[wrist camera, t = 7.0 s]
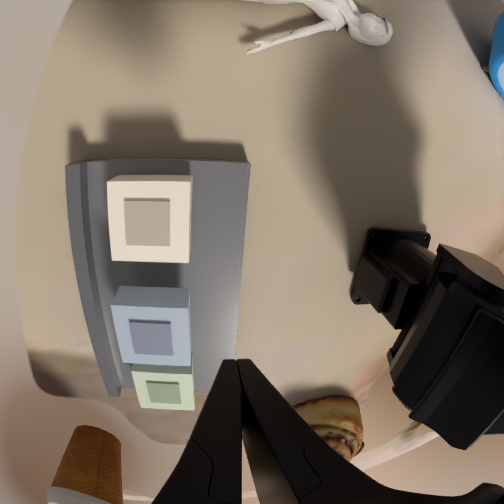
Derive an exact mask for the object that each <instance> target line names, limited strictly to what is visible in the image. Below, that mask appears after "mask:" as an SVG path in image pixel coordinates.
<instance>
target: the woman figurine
mask: <svg viewBox="0 0 504 504" xmlns="http://www.w3.org/2000/svg"><path fill="white" fill-rule="evenodd" d="M243 1H253V2H261V3H269V4H288V3H295V2H298V3H304V4H305V5H307V6H308V7H309V8H311V9H312V10H313V11H314V12H315V13H316V14H317V15H318V16H319V17H320V18H321V19H323V20H324V21H322V22H320V23H317V24H314V25H310V26H306V27H303V28H300V29H297V30H295V31H293V32H291V33H290V34H287V35H285V36H282V37H279V38H276V39H274V40H271V41H268V40H261V41H255V42H254V43H260V45H259V46H258V48H256V49H253V50H250V49H248V50H249V51H248V52H247V53H246V54H250V53H255V52H257V51H260V50H263V49H265V48H268V47H271V46H274V45H277V44H280V43H283V42H286V41H289V40H292V39H297V38H301V37H305V36H308V35H311V34H314V33H318V32H321V31H328V30H331V31H332V32H336V31H338V30H339V29H340V28H341V27H343V26H344V25H345V24H346V23H347V24H348V31H349V34H350V35H351V37H352V38H353V39H355V40H356V41H358V42H361V43H363V44H367V45H374V46H380V45H383V44H386V43H387V42H388V41H389V40H390V38H391V37H392V33H393V28H392V25H391V23H390V22H389V21H388V20H387V19H386V18H382V17H377V16H376V15H375V14H372V13H366V14H361V13H360V12H359V9H358V8H357V6H356V4H355V3H354V2H353V0H243Z"/></svg>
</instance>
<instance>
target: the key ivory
mask: <svg viewBox="0 0 504 504" xmlns="http://www.w3.org/2000/svg"><path fill="white" fill-rule="evenodd" d="M192 185H193V175H118V176H116V177H114V178H112V179H111V180H109V181H107V202H108V221H109V235H110V246H111V256H112V261H138V262H171V263H189V258H190V250H191V213H192Z"/></svg>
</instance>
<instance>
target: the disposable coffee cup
mask: <svg viewBox="0 0 504 504" xmlns="http://www.w3.org/2000/svg"><path fill="white" fill-rule="evenodd" d="M46 495H47V499H48V504H123V495H122V478H121V443H120V441H119V440H118V439H117V438H116V437H115V436H114V435H112V434H110V433H109V432H107V431H104V430H102V429H100V428H97V427H93V426H86V425H84V426H78V427H76V429H75V430H74V433H73V435H72V437H71V439H70V442H69V444H68V446H67V449H66V451H65V453H64V455H63V458H62V460H61V463H60V465H59V468H58V470H57V473H56V475H55V478H54V480H53V483H52V485H51V487H49V490H47V491H46Z"/></svg>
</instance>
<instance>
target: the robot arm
mask: <svg viewBox="0 0 504 504" xmlns="http://www.w3.org/2000/svg"><path fill="white" fill-rule="evenodd" d="M374 232H375V235H374V236H373V237H372V234H373V233H374ZM425 237H426V238H425ZM424 239H425V240H424ZM430 239H431V236H430V234H429V233H427V232H424V231H413V230H402V229H390V228H378V227H372V228H370V229H369V230H368V232H367V235H366V240H365V244H364V249H363V253H362V255H361V257H360V261H359V266H358V270H357V274H356V278H355V281H354V289H353V293H352V296H351V300H352V302H353V303H354V304H356V305H359V304H371V305H372V306H373V307H374V309H375V310H376V311H377V312H378V313H382V315H383V316H384V317H385V318H386V319H387V321H388V322H389V323H390V324H391V325H392V327H393V328H394V329H396V330H397V329H401V332H400V334H399V336H398V338H397V339H396V341H395V343H394V345H393V347H392V348H390V349H389V351H388V353H387V358H388V362H389V366H390V375H391V378H392V380H393V383H394V386H393V387H392V390H393V392H394V394H395V395H396V397H397V398H398V399H399V401H401V403H402V404H403V405H404V406H405V407H406V408H407V409H409V410H410V411H411V412H410V414H409V418H410V419H412V420H415V421H418V422H420V423H423V424H424V425H426V426H428V427H429V428H431V429H433V430H434V431H435V432H436V433H438V434H439V435H440V436H441V437H442V438H443V439H444V440H445V441H446V442H447V443H448V444H449V445H451V446H452V447H454V448H458V449H462V450H468V449H469V448H470V447H471V446H472V445H473V444H474V443H475V442H476V441H477V440H478V439H479V438H480V437H481V436H482V435H495V434H504V275H503V273H502V272H501V271H500V270H499V268H498V267H496V266H494V265H493V264H491V263H489V262H488V261H486V260H484V259H483V258H481V257H479V256H477V255H475V254H472V253H469V252H466V251H463V250H460V249H457V248H453V247H450V246H447V245H443V244H440V243H439V246H438V248H437V255H435V254H434V253H432V252H431V251H429V250H428V247H429V243H430ZM357 297H359V298H358V299H356V298H357ZM242 439H243V443H244V447H245V451H246V454H247V458H248V462H249V466H250V470H251V473H252V477H253V481H254V484H255V488H256V492H257V495H258V498H259V502H260V504H504V488H503V487H501V486H499V485H496V484H490V483H482V484H481V485H479V486H478V487H476V488H475V489H474V490H472V491H471V492H469V493H467V494H465V495H461V496H454V497H450V496H437V495H428V494H420V493H413V492H406V491H401V490H395V489H392V488H389V487H386V486H384V485H382V484H380V483H378V482H376V481H375V480H373V479H372V478H371V477H369V476H368V475H366V474H365V473H364V472H362V471H361V470H360V469H358V468H357V467H355V466H354V465H353V464H351V463H350V462H349V461H347V460H346V459H345V458H344V457H342V456H341V455H340V454H339V453H337V452H336V451H335V450H334V449H333V448H332V447H330V446H329V445H328V444H327V443H326V442H325V441H324V440H323V439H322V438H321V437H320V436H319V435H318V434H317V433H316V432H315V431H314V430H312V428H311V427H310V425H309V424H308V423H307V422H306V421H305V420H304V419H303V418H302V417H301V416H300V415H299V414H298V413H297V412H296V410H295V409H294V408H293V407H292V406H291V405H290V404H289V403H288V402H287V401H286V400H285V398H284V397H283V396H282V395H281V394H280V393H279V392H278V391H277V389H276V388H275V387H274V386H273V385H272V384H271V383H270V382H269V380H268V379H267V378H266V377H265V376H264V375H263V373H262V372H261V371H260V370H259V369H258V368H257V366H256V365H255V364H254V363H253V362H252V361H251V360H250V359H237V361H236V360H235V359H224V360H222V363H221V365H220V367H219V370H218V372H217V375H216V377H215V379H214V382H213V384H212V386H211V389H210V391H209V394H208V396H207V398H206V401H205V403H204V405H203V408H202V410H201V412H200V415H199V417H198V420H197V422H196V424H195V427H194V429H193V431H192V434H191V436H190V439H189V440H188V442H187V445H186V447H185V449H184V451H183V454H182V455H181V458H180V460H179V462H178V464H177V465H176V467H175V469H174V470H173V472H172V473H171V475H170V477H169V478H168V480H167V481H166V483H165V484H164V486H163V487H162V489H161V490H160V492H159V493H158V495H157V496H156V498H155V499H154V500H153V502H152V503H151V504H242Z"/></svg>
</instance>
